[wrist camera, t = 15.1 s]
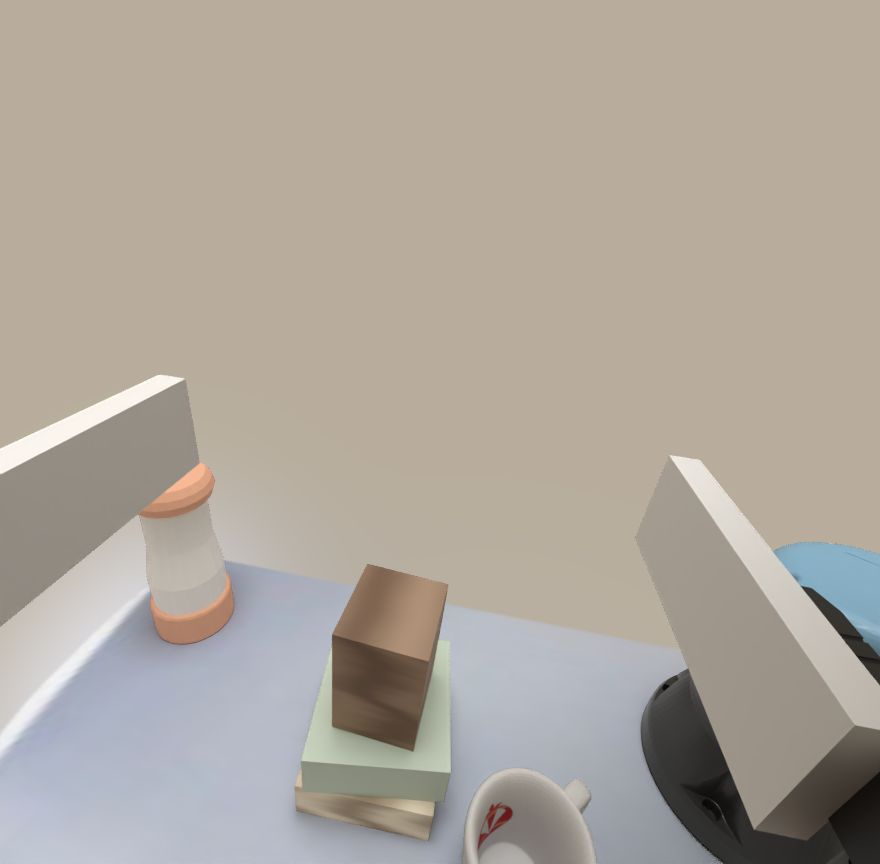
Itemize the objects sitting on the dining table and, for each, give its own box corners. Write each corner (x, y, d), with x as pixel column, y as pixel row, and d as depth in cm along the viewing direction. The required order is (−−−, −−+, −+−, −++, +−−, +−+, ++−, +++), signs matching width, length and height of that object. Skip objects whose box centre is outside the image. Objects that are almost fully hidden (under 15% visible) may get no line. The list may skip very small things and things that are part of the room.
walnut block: (432, 671, 35) (448, 584, 30) (413, 751, 30) (428, 661, 25) (362, 651, 36) (367, 563, 31) (332, 726, 31) (332, 634, 26)
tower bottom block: (444, 706, 41) (449, 679, 39) (427, 842, 32) (433, 816, 30) (341, 685, 41) (341, 658, 40) (296, 813, 33) (294, 785, 31)
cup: (529, 772, 36) (551, 717, 33) (611, 878, 31) (649, 826, 27) (425, 875, 30) (439, 821, 26) (507, 1030, 25) (538, 989, 21)
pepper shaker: (249, 605, 48) (230, 456, 39) (187, 657, 42) (148, 495, 33) (204, 577, 50) (177, 432, 42) (140, 622, 44) (93, 463, 36)
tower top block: (444, 669, 40) (449, 641, 38) (443, 802, 31) (450, 772, 29) (335, 660, 39) (335, 630, 38) (302, 791, 30) (300, 760, 29)
